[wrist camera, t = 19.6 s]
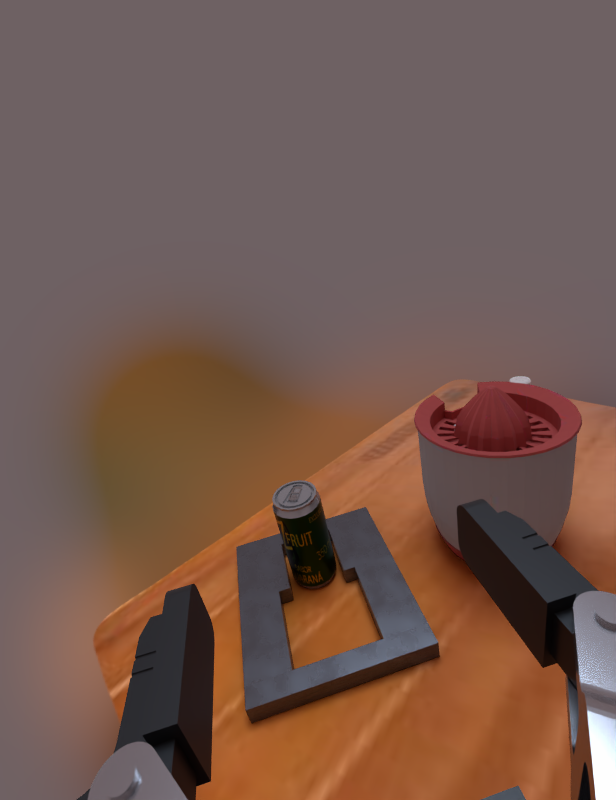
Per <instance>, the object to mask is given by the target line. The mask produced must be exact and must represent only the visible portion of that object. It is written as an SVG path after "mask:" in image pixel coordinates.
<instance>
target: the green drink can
mask: <svg viewBox="0 0 616 800" xmlns="http://www.w3.org/2000/svg"><path fill="white" fill-rule="evenodd" d="M273 511H274V514H275V517H276V521H277V524H278V527H279V530H280V534H281V537H282V540H283V543H284V547H285V550H286V553H287V556H288V560H289V563H290V566H291V569H292V573H293V576H294V578H295V580H296V581H297V582H298V583H299V584H300V585H302V586H304V587H305V588H309V589H317V588H320V587H323V586H325V585H326V584H328V583H329V582H330V581H331V579H332V578H333V576H334V573H335V570H336V561H335V557H334V552H333V548H332V544H331V540H330V536H329V532H328V528H327V524H326V519H325V515H324V511H323V507H322V503H321V499H320V495H319V493H318V492H317V491H316V488H315V486H314V485H313V484H312V483H310V482H307V481H293V482H289V483H287V484H285V485H283V486H281V487H280V488H279V489H277V491H276V492H275V493H274V495H273Z"/></svg>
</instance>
